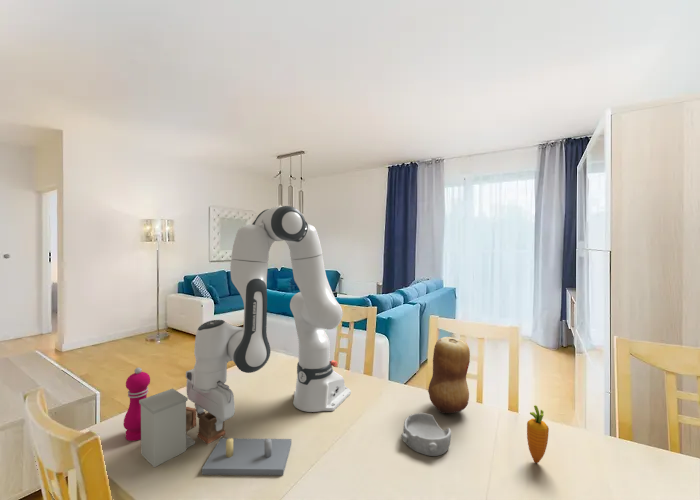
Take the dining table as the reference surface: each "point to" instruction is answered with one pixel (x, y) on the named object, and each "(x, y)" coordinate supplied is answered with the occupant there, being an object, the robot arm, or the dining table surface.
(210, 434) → the sleeve
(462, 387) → the butternut squash
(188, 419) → the sleeve
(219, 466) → the pin board
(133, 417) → the pepper mill
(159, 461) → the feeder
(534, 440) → the carrot
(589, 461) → the dining table surface
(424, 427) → the dish
